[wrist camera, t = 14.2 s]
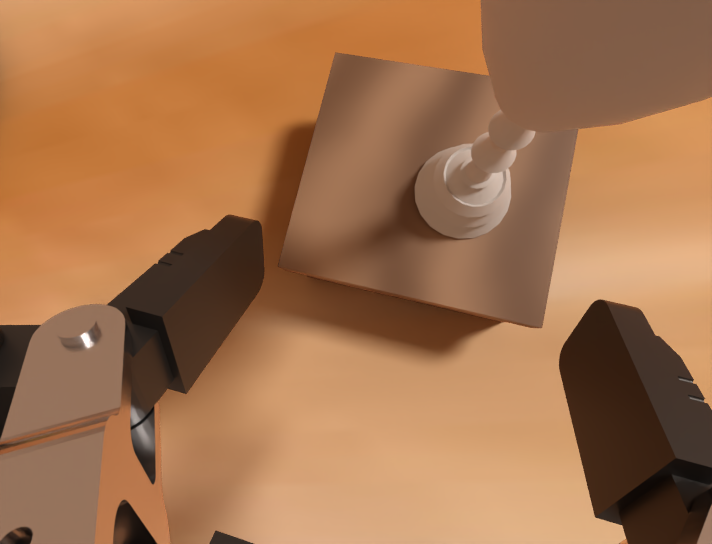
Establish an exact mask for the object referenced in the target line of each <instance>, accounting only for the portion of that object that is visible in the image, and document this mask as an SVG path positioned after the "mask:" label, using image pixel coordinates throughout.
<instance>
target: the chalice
mask: <svg viewBox="0 0 712 544" xmlns="http://www.w3.org/2000/svg"><path fill="white" fill-rule="evenodd" d="M481 22H482V48H483V53H484V57H485V60H486V64H487V68H488V72H489V75H490V79H491V83H492V87H493V90H494V94H495V98H496V100H497V102H498V105H499V107H500V109H501V110H500V111H498V112H497V113H496V114H494V116H493V117H492V118H491V120H490V123H489V126H488V131H489V132H487V133H484V134H482V135H480V136H479V137H478V138H477V139H476V140H475V142H474V143H473V144H462V145H459V146H456V147H451V148H448V149H446V150H443V151H440V152H438V153H437V154H435V155H434V156H433V157H431V158H430V159H429V160H427V161H426V163H425V164H424V166H423V167H422V169H421V170H420V172H419V173H418V177H417V180H416V184H415V202H416V204H417V207H418V209H419V212H420V215H421V216H422V217H423V218H424V220H425V221H426V222H427V223H428V224H429V226H430V227H432V228H433V229H435V230H436V231H438V232H440V233H441V234H443V235H446V236H450V237H453V238H457V239H463V238H475V237H478V236H480V235H483V234H486V233H488V232H489V231H491V230H492V229H493V228H494V227H496V226H497V225H498V224H500V222H501V220H502V219H503V217H504V216H505V214H506V213H507V211H508V208H509V204H510V200H511V178H510V171H509V169H508V168H509V167H510V166H511V165H512V164H513V162H514V161H515V158H516V150H519V149H521V148H524V147H525V146H527V145H528V144H529V143H530V142H531V141H532V139H533V138H534V135H535V132H540V133H541V132H555V131H564V130H573V129H582V128H591V127H600V126H608V125H617V124H622V123H626V122H629V121H633V120H636V119H640V118H643V117H646V116H650V115H653V114H657V113H660V112H664V111H667V110H671V109H674V108H678V107H681V106H685V105H688V104H691V103H695V102H698V101H702V100H704V99H707V98H710V97H712V0H481Z"/></svg>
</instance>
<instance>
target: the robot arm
mask: <svg viewBox="0 0 712 544" xmlns="http://www.w3.org/2000/svg"><path fill="white" fill-rule="evenodd" d="M263 278H264V255H263V239H262V227H261V224H260V222H259V221H256V220H251V219H247V218H243V217H238V216H234V215H227V216H225V217H224V218H223V219H222V220H221V221H220V222H218V223H217V224H216V225H215V226H214V227H213V228H212V229H211V230H206V229H204V230H202V231H200V232H198V233H195V234H193V235H191V236H188V237H186V238H184V239H183V240H182V241H181V242H180V243H179V244H177V245H176V246H175V247H174V248H173V249H172V250H171V252H170V253H167V254H166V255H165V256H163V257H162V258H161V259H160V260H159V261H158V264H154V265H153V266H152V267H151V268H149V269H148V270H147V271H146V272H145V273H144V274H142V275H141V276H140V277H139V278H138V279H137V280H135V281H134V282H133V283H132V284H131V285H130V286H128V287H127V288H126V289H125V290H124V291H123V292H121V293H120V294H119V295H118V296H117V297H115V298H114V299H113V300H112V301H111V302H110V303H108V304H107V305H102V304H90V305H83V306H79V307H75V308H71V309H68V310H66V311H63V312H61V313H59V314H57V315H55V316H53V317H52V318H50V319H49V320H47V321H46V322H45V323H43V324H42V325H0V544H170V535H169V525H168V518H167V513H166V508H165V504H164V499H163V492H162V471H161V438H160V407H159V403H158V400H159V399H160V397H161V396H162V395H163V394H164V392H165V391H166V390H167V388H168V389H171V390H175V391H178V392H181V393H185V394H187V392H188V391H189V389H190V388H191V387H192V385H193V384H194V382H195V381H196V379H197V378H198V377H199V375H200V374H201V372H202V371H203V370H204V368H205V367H206V365H207V364H208V363H209V361H210V360H211V358H212V357H213V355H214V354H215V353H216V351H217V350H218V348H219V347H220V346H221V344H222V343H223V341H224V340H225V339H226V337H227V336H228V334H229V333H230V332H231V330H232V329H233V327H234V326H235V324H236V323H237V322H238V320H239V319H240V317H241V316H242V315H243V313H244V312H245V310H246V309H247V308H248V306H249V305H250V303H251V302H252V300H253V299H254V298H255V296H256V295H257V293H258V292H259V290H260V288H261V285H262V282H263ZM559 369H560V374H561V378H562V382H563V386H564V390H565V395H566V399H567V403H568V407H569V411H570V415H571V419H572V424H573V428H574V432H575V436H576V440H577V444H578V448H579V452H580V457H581V461H582V465H583V469H584V473H585V477H586V481H587V486H588V490H589V494H590V498H591V502H592V506H593V510H594V515H595V517H596V518H599V519H603V520H606V521H609V522H613V523H616V524H619V525H623V529H624V532H625V536H626V539H625V540H623V541H622V542H620V543H619V544H712V410H711V408H710V407H709V405H708V404H707V403H704V399H705V398H704V396H703V395H702V393H701V391H700V389H699V388H698V386H697V384H693V380H694V379H693V378H692V376H691V374H690V372H689V371H688V369H687V367H686V366H685V364H684V362H683V360H682V359H681V357H680V356H679V355H678V354H677V353H676V352H675V351H674V350H673V349H672V348H671V347H670V346H669V345H668V344H667V343H666V342H665V341H664V340H663V339H662V338H661V337H660V336H655V334H654V332H653V330H652V329H651V327H650V325H649V323H648V321H647V319H646V318H645V316H644V314H643V312H642V311H641V310H640V309H638V308H636V307H632V306H627V305H623V304H618V303H614V302H610V301H605V300H597V301H595V302H594V303H593V304H592V305H591V306H590V307H589V309H588V310H587V311H586V313H585V314H584V316H583V317H582V319H581V320H580V322H579V323H578V325H577V326H576V327H575V329H574V330H573V332H572V333H571V335H570V336H569V338H568V339H567V341H566V342H565V344H564V345H563V348H562V350H561V353H560V359H559ZM210 544H253V543H250V542H247V541H245V540H242V539H239V538H236V537H233V536H230V535H227V534H224V533H221V532H218V531H215V533H214V535H213V537H212V539H211V541H210Z"/></svg>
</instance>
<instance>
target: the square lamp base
mask: <svg viewBox="0 0 712 544" xmlns="http://www.w3.org/2000/svg"><path fill="white" fill-rule="evenodd" d="M500 110H501V109H500V107H499V105H498V102H497V100H496V98H495V94H494V90H493V87H492V83H491V79H490V76H487V75H480V74H474V73H467V72H460V71H454V70H447V69H441V68H434V67H428V66H421V65H414V64H408V63H401V62H395V61H388V60H382V59H375V58H368V57H362V56H355V55H349V54H342V53H336V52H335V56H334V59H333V63H332V67H331V71H330V74H329V78H328V82H327V85H326V89H325V93H324V97H323V100H322V104H321V108H320V111H319V115H318V119H317V122H316V126H315V130H314V134H313V137H312V141H311V145H310V148H309V152H308V156H307V160H306V163H305V167H304V171H303V174H302V178H301V182H300V186H299V189H298V193H297V197H296V200H295V204H294V208H293V212H292V215H291V219H290V223H289V226H288V230H287V234H286V237H285V241H284V245H283V249H282V252H281V256H280V260H279V263H278V267H280V268H282V269H284V270H287V271H291V272H295V273H299V274H304V275H306V276H308V277H312V278H317V279H321V280H325V281H330V282H334V283H338V284H342V285H347V286H351V287H355V288H359V289H364V290H368V291H372V292H376V293H381V294H385V295H389V296H393V297H398V298H402V299H406V300H410V301H415V302H419V303H423V304H428V305H432V306H436V307H440V308H445V309H449V310H453V311H457V312H462V313H466V314H470V315H474V316H479V317H483V318H487V319H491V320H496V321H500V322H508V323H513V324H517V325H521V326H525V327H530V328H542V325H543V320H544V314H545V309H546V303H547V298H548V292H549V287H550V281H551V276H552V270H553V265H554V259H555V254H556V249H557V243H558V238H559V232H560V227H561V221H562V216H563V210H564V205H565V199H566V194H567V188H568V183H569V177H570V172H571V166H572V161H573V155H574V150H575V144H576V139H577V133H578V129H573V130H564V131H555V132H541V133H540V132H535V135H534V138H533V139H532V141H531V142H530V143H529V144H528V145H527V146H525V147H524V148H521V149H519V150H516V158H515V161H514V162H513V164H512V165H511V166H510V167H509V168H508V169H509V171H510V178H511V200H510V204H509V208H508V211H507V213H506V214H505V216H504V217H503V219H502V220H501V222H500V224H498V225H497V226H496V227H494V228H493V229H492V230H491V231H489V232H488V233H486V234H483V235H480V236H478V237H475V238H463V239H457V238H453V237H450V236H446V235H443V234H441V233H440V232H438V231H436V230H435V229H433V228H432V227H430V226H429V224H428V223H427V222H426V221H425V220H424V218H423V217H422V216H421V215H420V212H419V209H418V207H417V204H416V202H415V184H416V180H417V177H418V173H419V172H420V170H421V169H422V167H423V166H424V164H425V163H426V161H427V160H429V159H430V158H431V157H433V156H434V155H435V154H437V153H438V152H440V151H443V150H446V149H448V148H451V147H456V146H459V145H462V144H473V143H474V142H475V140H476V139H477V138H478V137H479V136H480V135H482V134H484V133H487V132H489V131H488V126H489V123H490V120H491V118H492V117H493V116H494V114H496V113H497V112H498V111H500Z"/></svg>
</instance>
